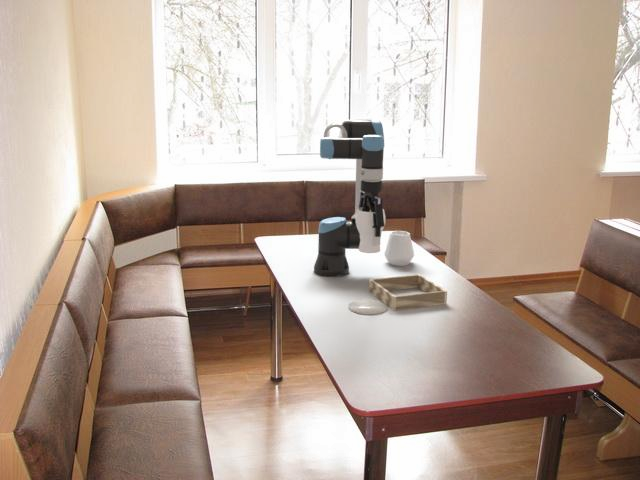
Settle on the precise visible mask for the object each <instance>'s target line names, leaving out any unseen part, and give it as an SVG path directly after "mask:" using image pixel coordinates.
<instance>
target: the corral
mask: <svg viewBox="0 0 640 480" xmlns="http://www.w3.org/2000/svg"><path fill="white" fill-rule="evenodd" d="M368 281H369V284H368V292H369V293H370V294H371V295H373V296H375V298H377V299H378V300H379V301H380V302H381V303H384V304H385V305H386V306H387V307H389V308H390V309H391V310H392V311H398V310H406V309H414V308H422V307H431V306H440V305H447V303H448V302H447V299H448V291H447V290H446V289H445V288H443V287H441V286H439V285H438V284H436V283H435V282H433V281H431V280H430V279H428V278H426V277H425V276H423V275H422V274H411V275H409V274H408V275H402V276H401V275H400V276H391V277H388V276H387V277H380V278H379V277H378V278H369V280H368ZM412 288H419V289H420V290H421V291H422V292H420V293H411V294H410V293H409V294H402V295H394V294H393V293H392V292H390V291H394V290H404V289H412Z"/></svg>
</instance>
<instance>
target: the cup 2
mask: <svg viewBox="0 0 640 480" xmlns="http://www.w3.org/2000/svg"><path fill="white" fill-rule="evenodd" d="M411 238H412V237H411V233H410V232H408V231H405V230H393V231H390V233H389V236H388V239H387V243H386V246H385V249H384V252H383V253H384V254H383V255H384V257H385V259H386V261H387V262H388V264H389V265H392V266H397V267H398V266H400V267H402V266H408V265H410V262H411V261H412V260H413V258H414V256H415V253H414V252H415V251H414V248H413V242H412V239H411Z"/></svg>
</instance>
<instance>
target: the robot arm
mask: <svg viewBox="0 0 640 480" xmlns="http://www.w3.org/2000/svg"><path fill="white" fill-rule="evenodd" d="M384 135H385V134H384V128H383V123H382V122H381V120H378V119H341V120H337V121H335V122H333V123H331V124H329V125H328V126H327V127H326V128H325V129H324V132H323V137H322V138H321V139H320V142H319V144H320V145H319V156H320V158H322V159H328V160H335V159H336V160H355V161H356V162H355V201H354V203H355V204H354V205H355V206H354V208H355V209H354V214H353V215H352V216H351V219H350V220H351V221H349V220H348V221H347V219H346V217H343V216H342V217H341V216H335V217H327V218H325V219H322V220H321V221H320V222H319V224H318V243H317V245H318V248H317V249H318V250H317V252H318V253H317V257H316V259H315V262H314V265H313V272H314V274H316V275H318V276H323V277H334V278H335V277H343V276H346V275H348V274H349V273H350V266H349V263H348V259H347V256H346V255H347V254H346V249H348V250H349V249H350V250H354V249H355V250H356V249H357V250H359V245H360V233H359V231H358V229H357V226H356V213H357V209H358V208H361V207H363V212H369V210H371V212H375V213H373V223H374V226H372V228H373V236H372V245H373V246H377V245H380V246H381V237H382V232H381V227H384V228H385V225H384V218H383V209H384V208H383V197H379V193H381V192H382V191H383V179H384V148H385V136H384Z"/></svg>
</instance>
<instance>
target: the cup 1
mask: <svg viewBox="0 0 640 480" xmlns="http://www.w3.org/2000/svg"><path fill="white" fill-rule="evenodd" d="M373 213H375V212H371V210H369V212H363V207H361V208H358V209H357V213H356V226H357V229H358V231H359V233H360V245H359V249H358V251H359V252H361V253H365V254H376V253H380V251H381V244H380V245H377V246H373V245H372V236H373V228H372V226H374V223H373ZM383 218H384V227H381V233H382V232H383V230H384V228H385V226H386V219H387V218H386V212H385V209H384V208H383Z"/></svg>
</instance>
